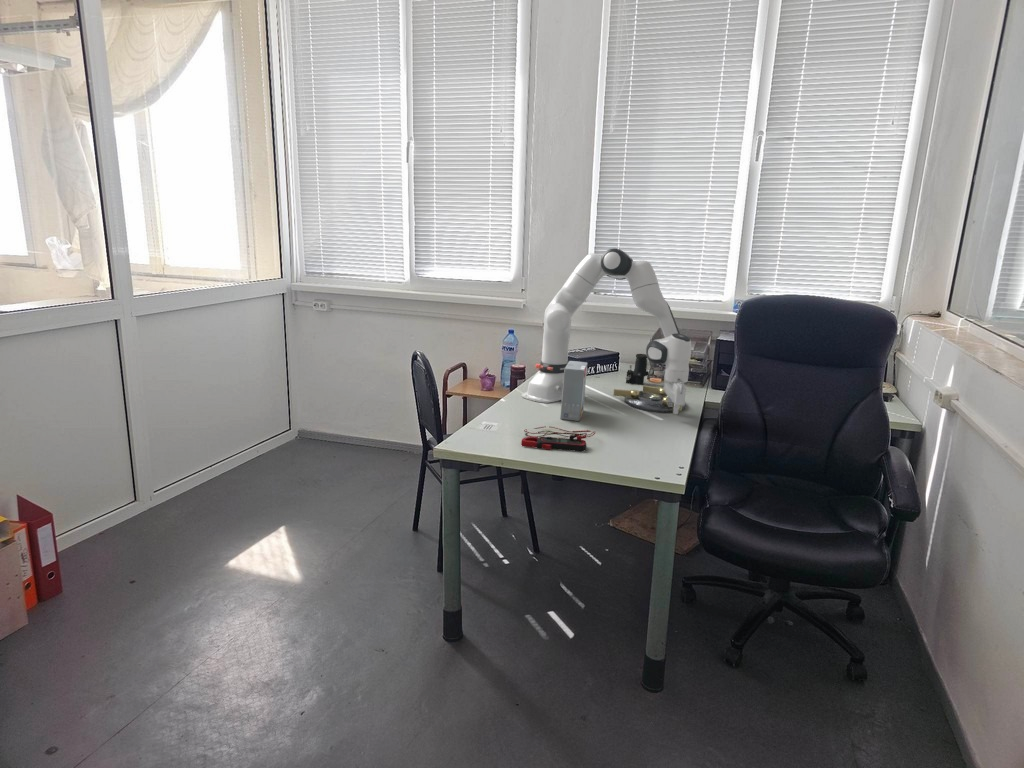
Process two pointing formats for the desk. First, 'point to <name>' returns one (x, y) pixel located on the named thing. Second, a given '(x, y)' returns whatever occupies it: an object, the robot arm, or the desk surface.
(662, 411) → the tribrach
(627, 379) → the scope
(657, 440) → the desk surface
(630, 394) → the knob
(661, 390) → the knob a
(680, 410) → the knob
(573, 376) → the hard drive box
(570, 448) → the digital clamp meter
